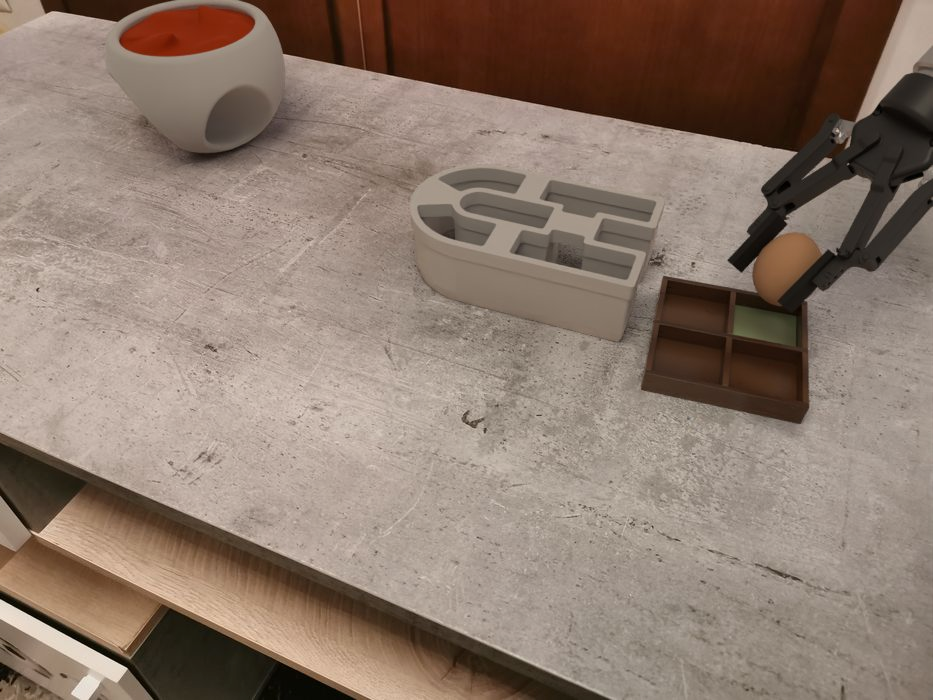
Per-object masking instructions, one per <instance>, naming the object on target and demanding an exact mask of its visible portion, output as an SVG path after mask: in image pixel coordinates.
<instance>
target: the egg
mask: <svg viewBox="0 0 933 700" xmlns="http://www.w3.org/2000/svg"><path fill="white" fill-rule="evenodd" d="M822 255H823V254H822V252H821V249H820V247H819V245H818V244H817V242H816V241H815V240H814V239H813V238H812V237H811V236H809V235H807V234H805V233H801V232H797V231H794V232H785V233H783V234H780V235H777V236H776V237H775V238H774V239H773V240H772V241H771V242H769V243H768V244H767V245H766V246H765V247H764V248H763V249H762V250H761V252H760V253H759V255H758V256H757V257H756V258H755V260H754V264H753V267H752V275H751V276H752V284H753V286H754V289H755V292H757V293H758V294H759V295H760V296H761V297H762V298H763V299H764V300H765V301H767V302H768V303H770V304H773V305H776V306H782V305H781V304H780V303H779V302H777V301H778V300H779V299H780V298H781V297H782V295H783V294H784V293H785V292H786V291H787V290H788V289H789V288H790V287H791V286H792V285H793V284H794V283H795V282H796V281H797V280H798V279H799V278H800V277H801V276H802V275H803V274H804V273H805V272H806V271H807V270H808V269H809V268H810V267H811V266H812V265H813V264H814V263H815V262H816V261H817V260H818V259H819V258H820V257H821V256H822ZM816 290H817V288H816V289H815V290H814V291H813V292H812V293H811V294H810V295H809V296H808V297H807V298H806V299H805V300H808V298H810V296H811V295H813V293H815V291H816Z"/></svg>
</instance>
